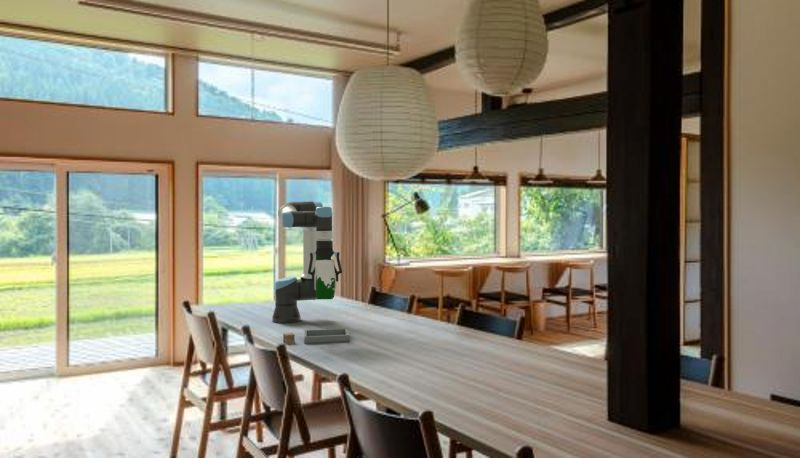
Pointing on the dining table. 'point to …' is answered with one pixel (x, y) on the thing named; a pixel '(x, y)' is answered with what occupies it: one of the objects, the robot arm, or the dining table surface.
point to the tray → (326, 336)
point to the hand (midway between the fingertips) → (325, 289)
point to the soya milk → (325, 278)
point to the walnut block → (289, 338)
